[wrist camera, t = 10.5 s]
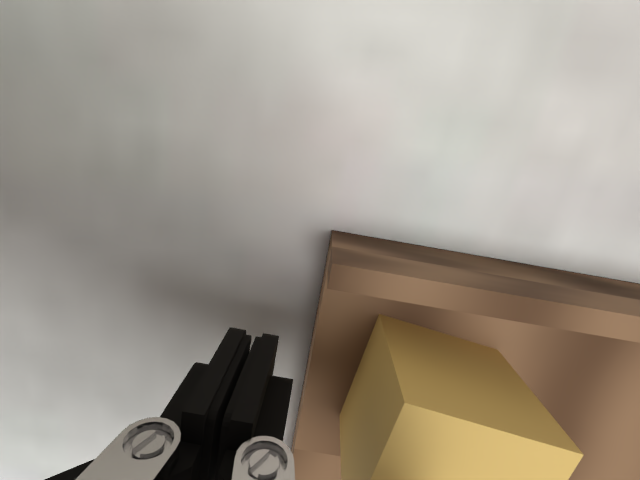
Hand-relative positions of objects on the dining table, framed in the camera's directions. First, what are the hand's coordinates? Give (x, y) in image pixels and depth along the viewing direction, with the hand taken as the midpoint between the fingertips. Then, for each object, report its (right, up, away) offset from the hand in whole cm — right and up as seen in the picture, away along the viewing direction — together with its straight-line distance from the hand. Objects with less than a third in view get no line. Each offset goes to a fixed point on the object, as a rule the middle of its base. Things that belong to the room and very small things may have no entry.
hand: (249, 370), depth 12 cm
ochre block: (+6, -1, +1) cm, 6 cm away
